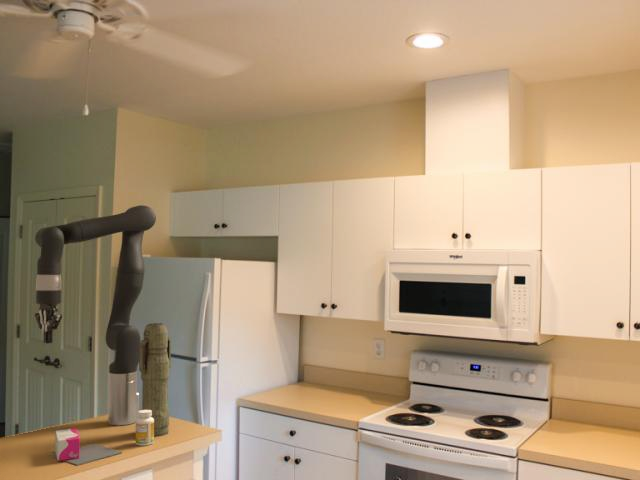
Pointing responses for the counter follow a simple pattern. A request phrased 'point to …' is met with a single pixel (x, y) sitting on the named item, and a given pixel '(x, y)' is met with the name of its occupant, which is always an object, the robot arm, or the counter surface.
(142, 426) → the supplement bottle
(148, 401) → the thermos
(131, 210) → the robot arm
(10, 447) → the counter surface
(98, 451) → the rubber mat
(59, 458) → the supplement box
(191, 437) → the counter surface
